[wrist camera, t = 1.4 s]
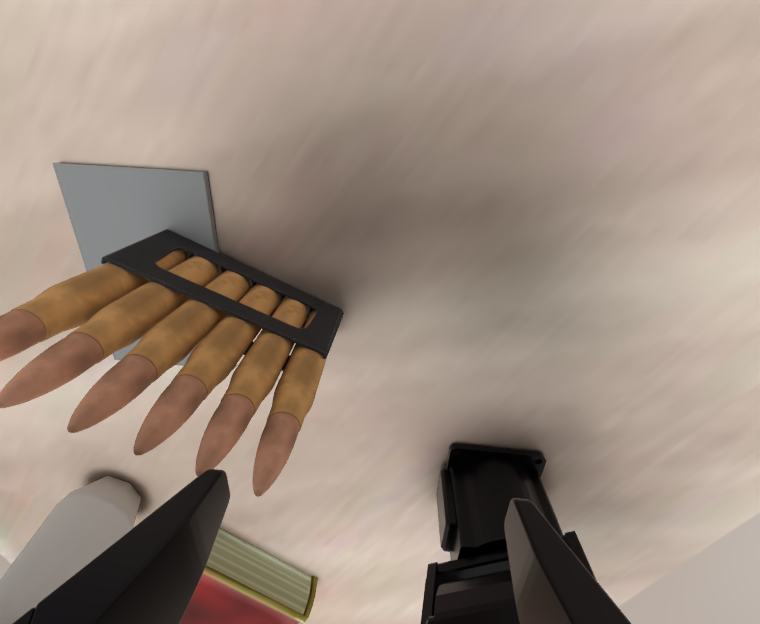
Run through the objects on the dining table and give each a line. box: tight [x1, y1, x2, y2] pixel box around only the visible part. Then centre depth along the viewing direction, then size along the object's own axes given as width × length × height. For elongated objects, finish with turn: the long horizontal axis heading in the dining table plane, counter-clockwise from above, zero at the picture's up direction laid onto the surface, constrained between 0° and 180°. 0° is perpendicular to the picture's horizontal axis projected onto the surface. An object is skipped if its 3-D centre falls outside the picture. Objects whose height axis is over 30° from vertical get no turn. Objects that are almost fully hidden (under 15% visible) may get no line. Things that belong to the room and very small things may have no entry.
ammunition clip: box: [0, 229, 344, 496], centre depth 15 cm, size 11×2×12 cm, turn 63°
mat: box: [53, 163, 236, 370], centre depth 21 cm, size 8×12×1 cm, turn 177°
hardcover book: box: [180, 528, 317, 624], centre depth 34 cm, size 12×21×4 cm, turn 141°
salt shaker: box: [0, 476, 141, 624], centre depth 24 cm, size 6×6×13 cm
